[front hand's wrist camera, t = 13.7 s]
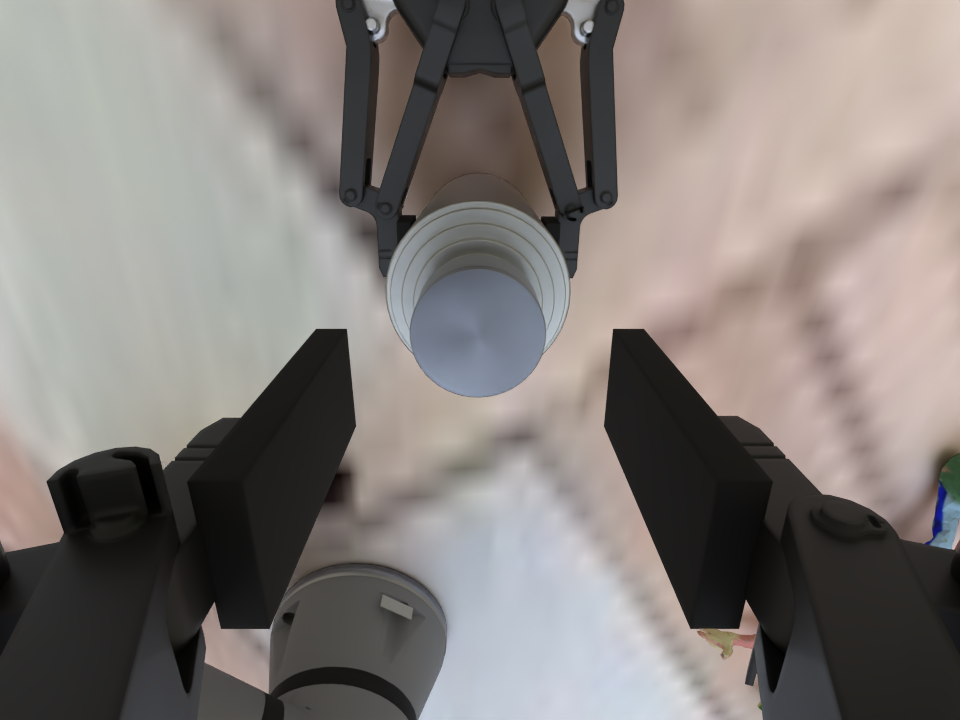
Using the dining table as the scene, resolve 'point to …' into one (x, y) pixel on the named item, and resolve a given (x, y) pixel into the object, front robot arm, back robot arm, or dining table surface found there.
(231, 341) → the dining table surface
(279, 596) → the front robot arm
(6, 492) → the dining table surface
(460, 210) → the bottle
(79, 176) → the dining table surface
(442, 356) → the cap
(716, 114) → the dining table surface
